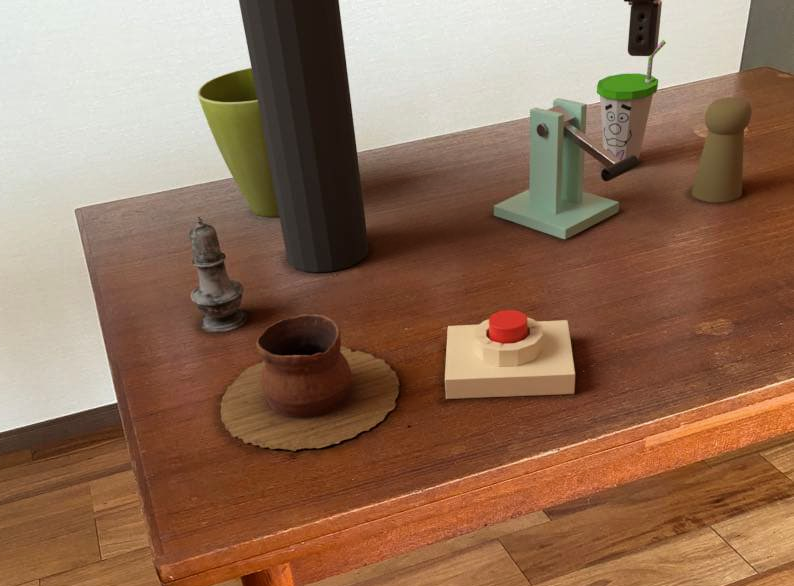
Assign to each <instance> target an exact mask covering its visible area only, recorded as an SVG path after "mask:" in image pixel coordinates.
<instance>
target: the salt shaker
mask: <svg viewBox="0 0 794 586" xmlns="http://www.w3.org/2000/svg"><path fill="white" fill-rule="evenodd" d="M195 222H196V223H197V224H195V225H194V226H193V227H192V228H191V229H190V231H189V233H188V236H189V241H190V246H191V249H192V253H193V258H192V260H191V263H192V265H193V266H195V267H196V271H197V275H198V279H199V285H198V286H197V287H195V288H194V289H193V290H192V291H191V293H190V299H191V301H192V302H193V303H194V304H195V307H196V308H197V309H198V310H199V312H200V313H201V314H202V315H204V317H202V319H201V322H200V326H201V329H203V330H204V331H206V332H208V333H214V334H215V333H216V334H217V333H218V334H219V333H227V332H229V331H230V332H231V331H234V330H236V329H239V328H240V327H242V326H243V325H244V324H245V323H246V322H247V321H248V315H247V312H245V311H244V310H243V309H240V307H241V305H242V300H243V292H244V286H243V284H242V283H241V282H240V281H238V280H236V279H230V277H229V275H228V273H227V268H226V263H225V260H226V257H227V256H226V254H225V253H224V252H222V251H221V246H220V242H219V238H218V234H217V230H216V228H215V227H214V226H213V225H211V224H208V223H204V222H203V219H202V218H201V217H200V216H197V218H196V220H195Z"/></svg>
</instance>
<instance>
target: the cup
mask: <svg viewBox="0 0 794 586" xmlns="http://www.w3.org/2000/svg"><path fill="white" fill-rule="evenodd" d="M665 44H667V43H666V41H665V39H662V40H661V41H660V43H658V47H657V48H656V50H655V51H654V52H653V54H652V55H650V56H648V59H647V69H646V73H645V74H644V73H619V74H614V75H609V76H606V77H604V78H602V79H599V80H598V82H597V84H596V94H598V95H599V101H600V103H599V104H600V116H601V117H600V120H601V132H602V133H601V134H602V147H603V148H604V149H606V150H607V151H608V152H610V153H611V154H612V155H614V156H615V157H617V158H618V159H619V160H623V159H625V158H627V157H629V156H631V155H634V156H636V157H637V158H638V161H639V160H640V155H641V151H642V147H643V142H644V138H645V133H646V128H647V124H648V118H649V115H650V110H651V106H652V101H653V97H654V94H656V93H657V91H658V87H659V79H658V78H656V77H654V76H653V75H652V73H653V71H652V70H653V62H654V61H653V60H654V58H655V55H656V54H657V53H658V52H659V51H660V50H661V49H662V48H663V47H664V46H665Z"/></svg>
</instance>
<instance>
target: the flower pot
mask: <svg viewBox="0 0 794 586" xmlns="http://www.w3.org/2000/svg"><path fill="white" fill-rule="evenodd" d="M197 97H198V100H199V103H200V105H201V109H202V111H203V114H204V116H205V119H206V121H207V125H208V127H209V129H210V132H211V134H212V137H213V139H214V142H215V144H216V146H217V148H218V150H219V152H220V154H221V156H222V159H223V161H224V162H225V165H226V167H227V168H228V170H229V172H230V174H231V177H232V178H233V180H234V182H235V183H236V186H237V187H238V189H239V191H240V192H241V194H242V196H243V197H244V199H245V200H246V202H247V204H248V205H249V207H250V209H251V211H253V213H254V214H256V215H257V216H260V217H265V218H278V217H279V212H278V207H277V201H276V196H275V191H274V185H273V180H272V175H271V169H270V164H269V159H268V153H267V148H266V143H265V137H264V132H263V127H262V121H261V116H260V111H259V105H258V100H257V95H256V89H255V84H254V79H253V73H252V68H251V67H248V68H244V69H239V70H235V71H232V72H228V73H225V74H222V75H219V76H217V77H213V78H212V79H210V80H208V81H206V82H205V83H203V84H202V85H201V87H199V88H198V91H197Z"/></svg>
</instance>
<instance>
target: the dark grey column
mask: <svg viewBox="0 0 794 586" xmlns="http://www.w3.org/2000/svg"><path fill="white" fill-rule="evenodd" d="M238 3H239V9H240V14H241V20H242V24H243V25H242V26H243V30H244V36H245V40H246V41H245V42H246V46H247V51H248V52H247V53H248V57H249V62H250V68H252V73H253V79H254V84H255V89H256V95H257V100H258V105H259V111H260V116H261V121H262V127H263V132H264V137H265V143H266V148H267V153H268V159H269V164H270V169H271V175H272V180H273V185H274V191H275V196H276V201H277V207H278V212H279V216H278V217H279V221H280V222H279V223H280V227H281V233H282V238H283V243H284V248H285V254H286V255H285V256H286V259H287V263H288V264H289V265H290V266H291V267H292V268H293V269H295V270H298V271H301V272H305V273H316V274H321V273H331V272H333V273H334V272H336V271H340V270H345V269H347V268H351V267H352V266H354V265H356V264H359V263H360V262H361V261H362V260H363V259H364V258H366V256H367V254H368V252H369V249H370V248H369V239H368V231H367V223H366V215H365V214H366V213H365V205H364V197H363V189H362V182H361V174H360V173H361V172H360V164H359V158H358V157H359V156H358V149H357V141H356V140H357V139H356V131H355V124H354V116H353V107H352V106H353V105H352V99H351V98H352V97H351V90H350V83H349V74H348V66H347V57H346V50H345V41H344V32H343V26H342V25H343V24H342V16H341V8H340V0H238Z"/></svg>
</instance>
